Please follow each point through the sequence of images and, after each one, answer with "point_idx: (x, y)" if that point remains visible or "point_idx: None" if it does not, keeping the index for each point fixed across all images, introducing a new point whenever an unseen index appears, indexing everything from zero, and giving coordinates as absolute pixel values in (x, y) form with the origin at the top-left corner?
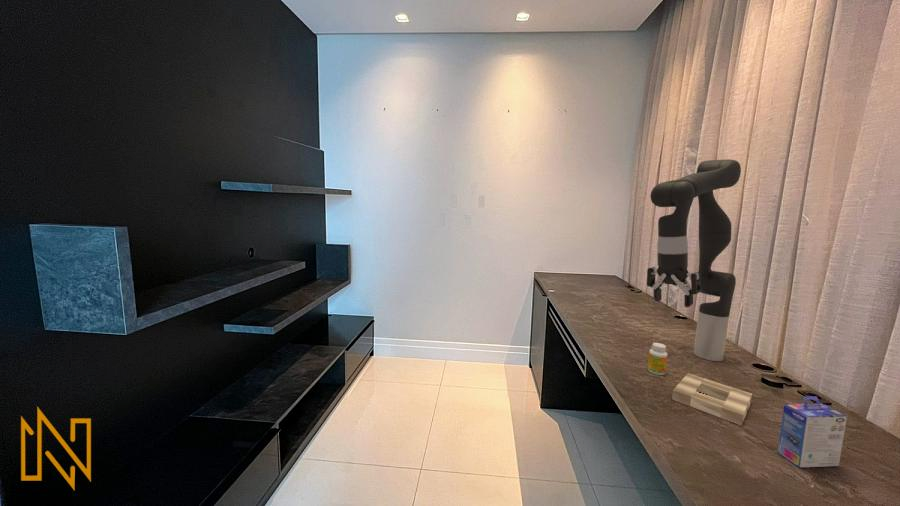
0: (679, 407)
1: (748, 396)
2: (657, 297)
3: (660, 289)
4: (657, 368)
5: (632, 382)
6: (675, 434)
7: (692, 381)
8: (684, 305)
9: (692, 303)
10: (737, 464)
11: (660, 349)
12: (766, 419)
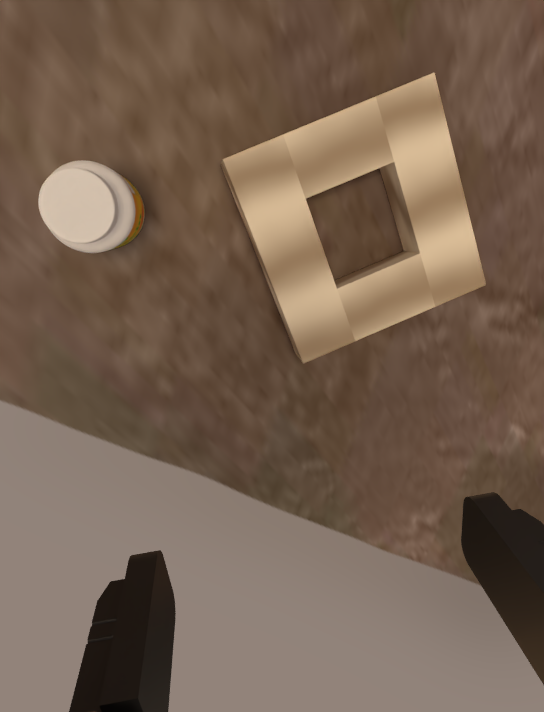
0: (335, 371)
1: (438, 116)
2: (172, 650)
3: (146, 708)
4: (131, 239)
5: (162, 392)
6: (410, 491)
7: (283, 220)
8: (471, 569)
9: (539, 532)
10: (526, 450)
11: (110, 230)
12: (484, 156)
